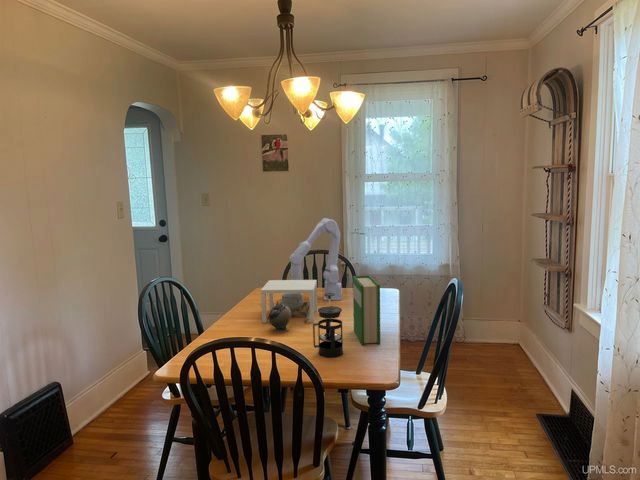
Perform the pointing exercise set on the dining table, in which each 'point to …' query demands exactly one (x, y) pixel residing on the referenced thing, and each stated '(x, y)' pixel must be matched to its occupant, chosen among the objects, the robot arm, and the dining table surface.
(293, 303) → the teacup
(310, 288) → the shelf
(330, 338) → the french press
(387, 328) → the dining table surface
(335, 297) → the robot arm
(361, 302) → the hardback book
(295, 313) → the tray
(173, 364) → the dining table surface
